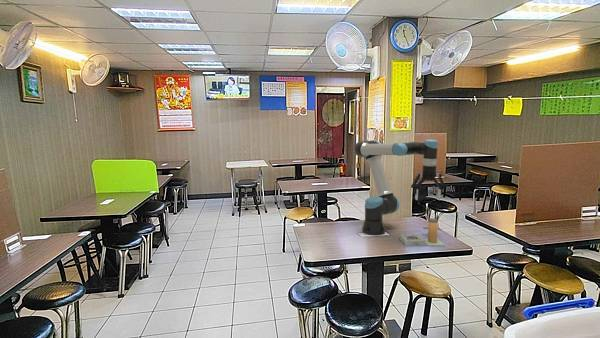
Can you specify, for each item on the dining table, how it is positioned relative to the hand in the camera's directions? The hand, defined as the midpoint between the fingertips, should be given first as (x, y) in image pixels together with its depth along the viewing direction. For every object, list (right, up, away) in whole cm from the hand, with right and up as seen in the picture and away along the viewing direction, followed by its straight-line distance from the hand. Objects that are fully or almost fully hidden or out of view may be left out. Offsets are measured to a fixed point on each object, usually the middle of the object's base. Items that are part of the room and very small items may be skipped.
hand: (427, 199), depth 192 cm
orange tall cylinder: (+3, -26, 0) cm, 26 cm away
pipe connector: (+8, -25, +13) cm, 29 cm away
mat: (+3, -27, 0) cm, 27 cm away
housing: (-9, -27, +1) cm, 28 cm away
